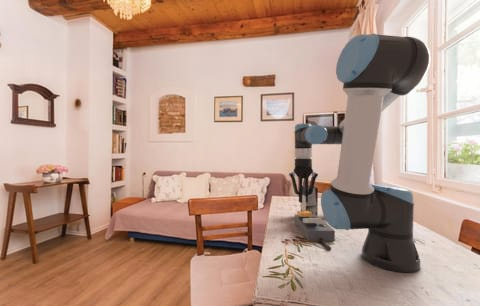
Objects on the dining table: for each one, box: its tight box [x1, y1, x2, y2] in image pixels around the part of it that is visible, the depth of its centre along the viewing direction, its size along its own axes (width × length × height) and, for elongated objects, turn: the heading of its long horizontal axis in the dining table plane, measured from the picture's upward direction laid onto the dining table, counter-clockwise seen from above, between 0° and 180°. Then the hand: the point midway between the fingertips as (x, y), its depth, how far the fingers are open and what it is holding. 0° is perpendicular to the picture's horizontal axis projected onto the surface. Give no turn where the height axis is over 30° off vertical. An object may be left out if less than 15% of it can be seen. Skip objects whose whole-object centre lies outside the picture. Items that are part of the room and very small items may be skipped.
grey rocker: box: [303, 218, 321, 223], centre depth 93 cm, size 7×5×2 cm
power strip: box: [294, 214, 336, 251], centre depth 94 cm, size 30×10×5 cm, turn 0°
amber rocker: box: [296, 210, 313, 217], centre depth 103 cm, size 7×5×2 cm
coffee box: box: [300, 184, 319, 216], centre depth 117 cm, size 9×6×16 cm
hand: (303, 209), depth 105 cm, fingers closed
